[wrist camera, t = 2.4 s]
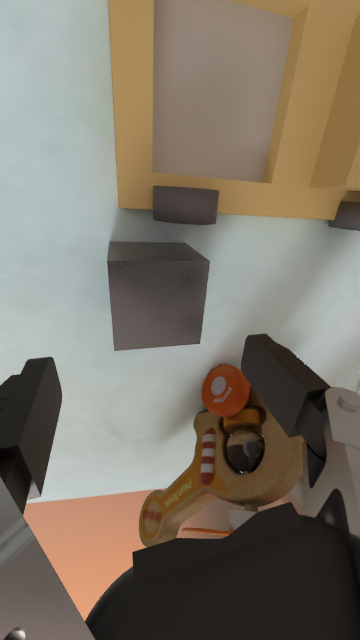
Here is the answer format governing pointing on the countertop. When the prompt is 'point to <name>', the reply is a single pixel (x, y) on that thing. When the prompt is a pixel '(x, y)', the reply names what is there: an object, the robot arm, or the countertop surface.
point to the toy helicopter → (226, 461)
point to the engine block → (156, 294)
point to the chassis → (237, 108)
